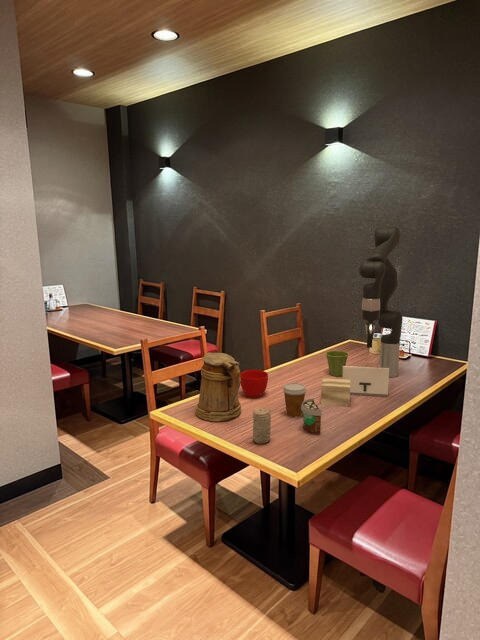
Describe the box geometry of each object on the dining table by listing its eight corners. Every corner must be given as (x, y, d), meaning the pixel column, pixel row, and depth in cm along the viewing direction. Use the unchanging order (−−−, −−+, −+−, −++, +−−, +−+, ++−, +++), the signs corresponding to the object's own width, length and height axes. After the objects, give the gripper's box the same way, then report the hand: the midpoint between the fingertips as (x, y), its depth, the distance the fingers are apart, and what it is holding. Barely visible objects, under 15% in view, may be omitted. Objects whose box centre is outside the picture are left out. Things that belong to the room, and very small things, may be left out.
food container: (297, 422, 181) (297, 398, 179) (313, 421, 182) (313, 397, 179) (304, 436, 169) (305, 411, 167) (321, 435, 170) (321, 410, 167)
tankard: (219, 401, 204) (218, 347, 199) (258, 416, 188) (257, 357, 182) (187, 413, 192) (185, 355, 187) (225, 430, 175) (223, 368, 170)
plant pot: (347, 371, 242) (348, 350, 240) (348, 378, 230) (349, 357, 228) (324, 370, 244) (325, 349, 242) (324, 377, 233) (325, 356, 230)
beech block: (322, 396, 208) (322, 377, 206) (349, 398, 205) (350, 379, 203) (320, 405, 198) (321, 385, 196) (349, 407, 195) (350, 387, 194)
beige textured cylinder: (250, 444, 164) (249, 412, 162) (256, 435, 171) (256, 404, 168) (267, 446, 162) (266, 415, 159) (273, 437, 169) (273, 407, 166)
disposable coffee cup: (308, 410, 192) (308, 383, 190) (303, 420, 183) (303, 391, 181) (285, 408, 195) (285, 381, 193) (280, 417, 186) (280, 389, 184)
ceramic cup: (275, 389, 217) (275, 369, 215) (261, 402, 202) (261, 380, 200) (250, 385, 223) (250, 366, 221) (235, 397, 208) (234, 376, 206)
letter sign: (342, 389, 216) (342, 363, 213) (386, 392, 211) (388, 365, 208) (342, 394, 210) (342, 366, 207) (387, 397, 205) (389, 369, 203)
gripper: (361, 305, 204) (360, 343, 208) (362, 311, 191) (360, 351, 195) (379, 305, 202) (377, 343, 206) (381, 311, 190) (379, 351, 193)
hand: (369, 347), depth 200 cm, fingers closed
